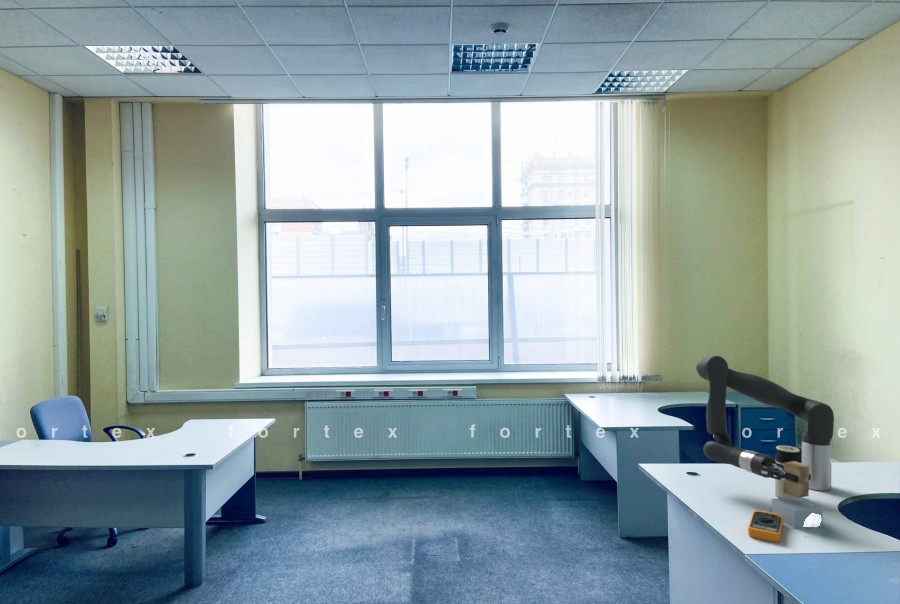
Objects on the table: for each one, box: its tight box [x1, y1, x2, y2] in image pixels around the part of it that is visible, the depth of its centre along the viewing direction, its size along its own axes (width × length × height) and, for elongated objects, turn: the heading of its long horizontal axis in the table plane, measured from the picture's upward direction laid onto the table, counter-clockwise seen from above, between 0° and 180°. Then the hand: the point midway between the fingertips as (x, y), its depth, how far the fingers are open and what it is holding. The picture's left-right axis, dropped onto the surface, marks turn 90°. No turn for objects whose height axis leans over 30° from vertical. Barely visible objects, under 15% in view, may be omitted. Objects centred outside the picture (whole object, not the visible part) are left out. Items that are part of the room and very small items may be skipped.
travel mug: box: [774, 445, 802, 498], centre depth 200 cm, size 8×8×18 cm
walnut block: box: [783, 461, 810, 499], centre depth 178 cm, size 5×5×10 cm
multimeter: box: [747, 510, 784, 544], centre depth 172 cm, size 9×18×3 cm, turn 146°
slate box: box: [771, 497, 824, 530], centre depth 178 cm, size 10×10×6 cm
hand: (804, 478), depth 176 cm, fingers closed on walnut block, 5 cm apart
